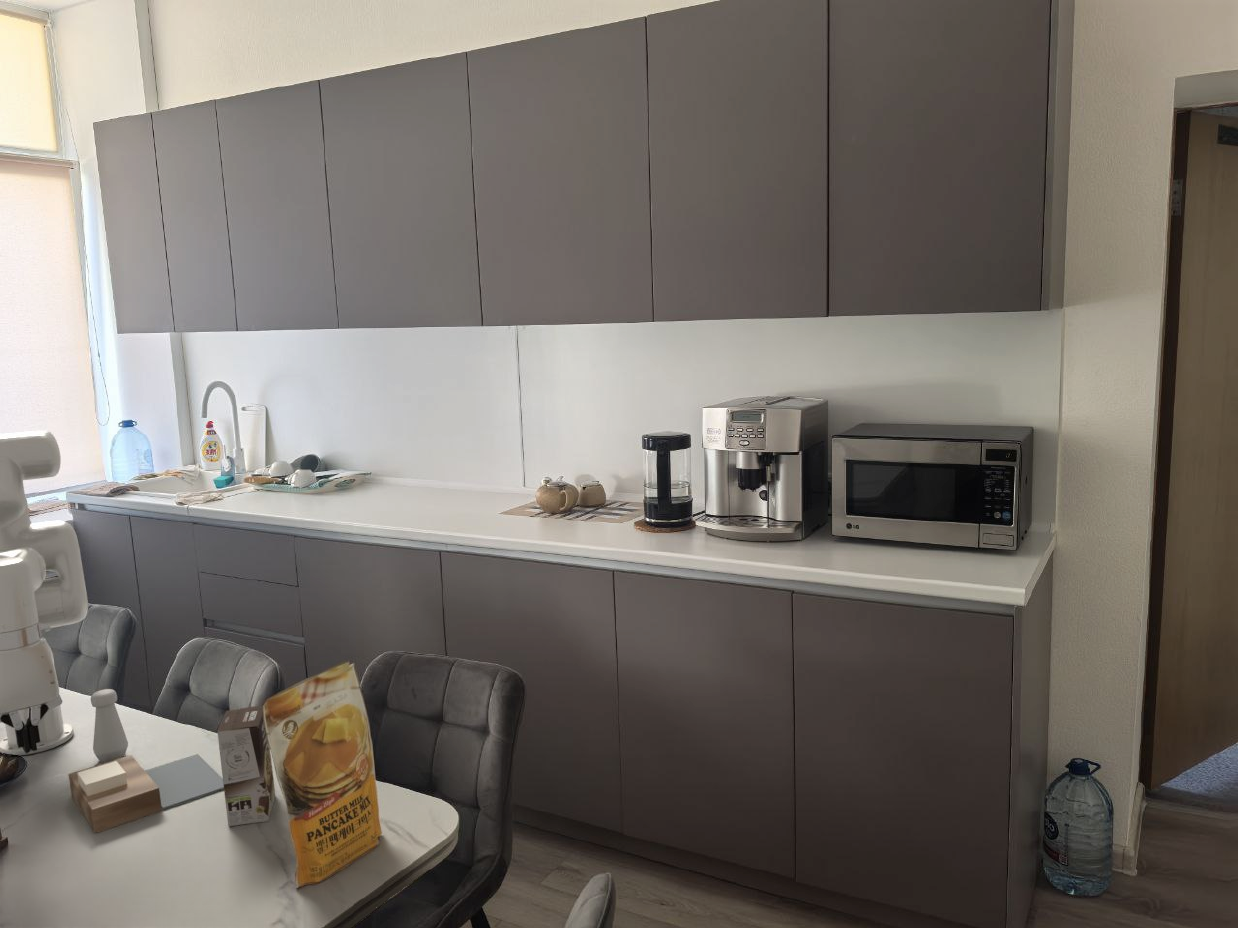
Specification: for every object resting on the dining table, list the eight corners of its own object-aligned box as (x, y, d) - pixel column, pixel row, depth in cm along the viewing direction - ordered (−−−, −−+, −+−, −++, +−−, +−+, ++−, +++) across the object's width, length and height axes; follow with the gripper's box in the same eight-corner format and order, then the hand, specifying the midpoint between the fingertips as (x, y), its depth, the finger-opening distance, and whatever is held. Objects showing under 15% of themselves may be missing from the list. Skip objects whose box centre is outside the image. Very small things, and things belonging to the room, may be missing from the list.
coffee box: (269, 821, 159) (258, 725, 157) (227, 827, 158) (215, 731, 155) (276, 794, 168) (266, 703, 165) (236, 800, 167) (225, 708, 164)
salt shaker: (131, 759, 184) (122, 692, 182) (97, 768, 181) (87, 700, 179) (126, 748, 189) (117, 683, 187) (93, 757, 186) (83, 690, 184)
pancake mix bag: (267, 885, 141) (245, 698, 137) (368, 823, 157) (351, 653, 152) (298, 899, 138) (277, 707, 133) (399, 834, 153) (383, 660, 149)
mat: (135, 775, 178) (135, 773, 178) (198, 755, 184) (197, 753, 184) (163, 809, 165) (163, 807, 165) (229, 787, 171) (229, 785, 171)
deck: (71, 795, 171) (68, 773, 171) (134, 775, 177) (131, 754, 177) (95, 832, 158) (92, 809, 158) (162, 810, 164) (159, 787, 164)
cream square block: (78, 783, 167) (77, 772, 166) (117, 771, 170) (116, 760, 170) (87, 796, 162) (85, 784, 162) (127, 783, 166) (125, 772, 166)
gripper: (61, 621, 163) (76, 728, 166) (-48, 644, 154) (-29, 757, 156) (71, 630, 157) (87, 741, 160) (-41, 655, 148) (-22, 772, 151)
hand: (29, 748), depth 158 cm, fingers closed
